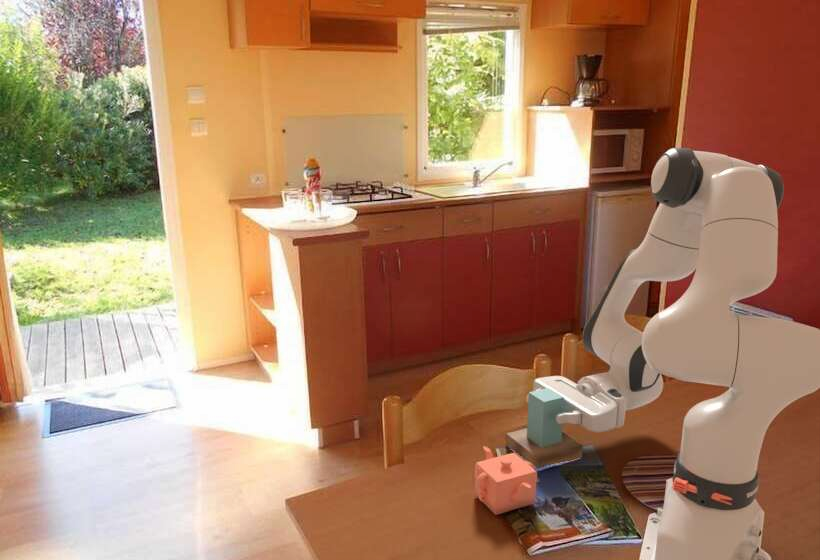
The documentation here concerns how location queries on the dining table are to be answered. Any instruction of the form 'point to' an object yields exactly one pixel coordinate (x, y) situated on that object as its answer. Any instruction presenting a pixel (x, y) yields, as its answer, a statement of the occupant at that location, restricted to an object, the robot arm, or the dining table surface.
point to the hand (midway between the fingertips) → (541, 409)
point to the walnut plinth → (543, 449)
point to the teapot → (505, 482)
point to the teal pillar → (544, 417)
